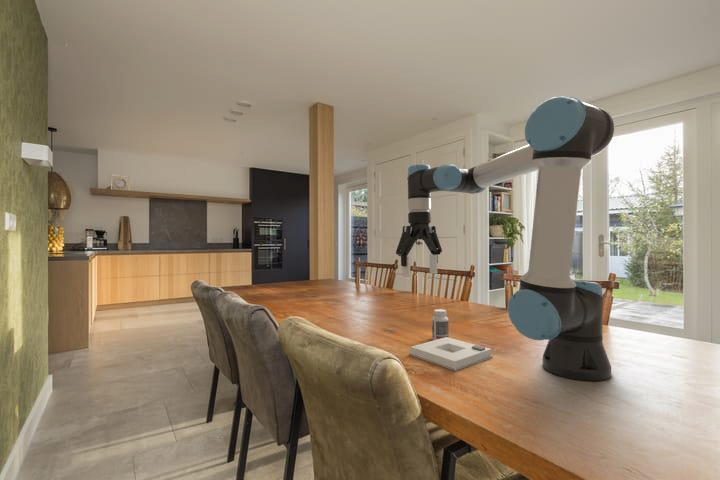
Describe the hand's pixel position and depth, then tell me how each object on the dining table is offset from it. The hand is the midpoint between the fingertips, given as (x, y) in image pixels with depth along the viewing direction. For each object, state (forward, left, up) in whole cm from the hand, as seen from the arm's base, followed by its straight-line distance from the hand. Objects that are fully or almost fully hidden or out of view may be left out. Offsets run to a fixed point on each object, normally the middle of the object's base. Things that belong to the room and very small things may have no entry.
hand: (420, 275), depth 123 cm
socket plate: (-18, +7, -22) cm, 29 cm away
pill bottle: (-5, -4, -22) cm, 23 cm away
